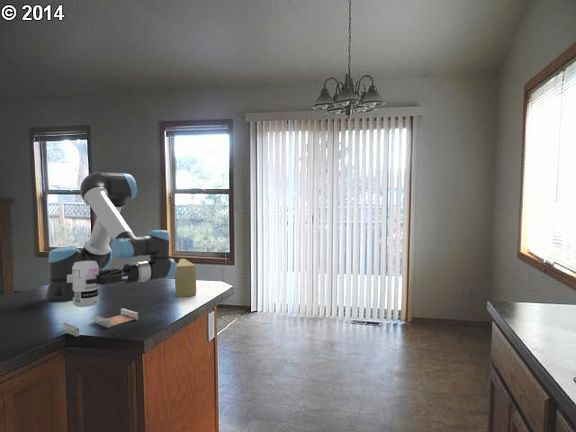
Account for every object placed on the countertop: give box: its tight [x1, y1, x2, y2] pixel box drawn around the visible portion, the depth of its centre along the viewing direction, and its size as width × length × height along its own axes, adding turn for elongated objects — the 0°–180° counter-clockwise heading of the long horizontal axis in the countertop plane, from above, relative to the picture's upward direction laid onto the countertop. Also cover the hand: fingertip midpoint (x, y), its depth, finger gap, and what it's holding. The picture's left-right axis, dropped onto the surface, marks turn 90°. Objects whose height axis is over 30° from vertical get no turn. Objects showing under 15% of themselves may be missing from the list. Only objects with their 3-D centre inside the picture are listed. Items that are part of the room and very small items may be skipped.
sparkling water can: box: [72, 261, 100, 308], centre depth 138 cm, size 8×8×15 cm
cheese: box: [174, 258, 197, 298], centre depth 194 cm, size 22×10×15 cm, turn 18°
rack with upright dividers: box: [61, 307, 139, 337], centre depth 144 cm, size 10×23×2 cm, turn 144°
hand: (71, 281), depth 135 cm, fingers closed on sparkling water can, 8 cm apart
